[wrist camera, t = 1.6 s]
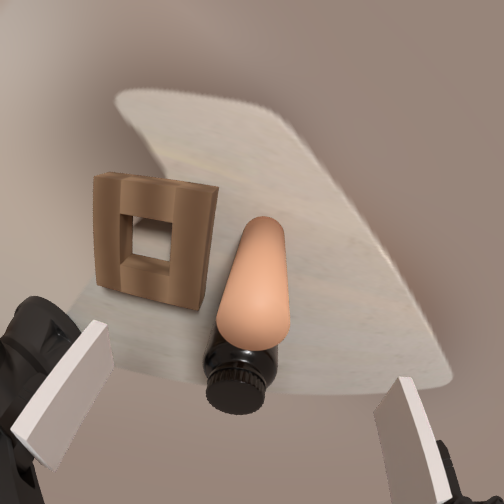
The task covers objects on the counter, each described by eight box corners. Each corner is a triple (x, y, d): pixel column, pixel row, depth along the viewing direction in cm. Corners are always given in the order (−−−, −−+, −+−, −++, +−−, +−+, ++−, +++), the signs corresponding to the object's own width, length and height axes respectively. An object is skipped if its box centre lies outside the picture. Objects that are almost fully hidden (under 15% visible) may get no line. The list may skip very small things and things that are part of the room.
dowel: (240, 251, 29) (212, 343, 16) (246, 212, 27) (220, 285, 15) (279, 258, 29) (280, 355, 16) (288, 220, 27) (298, 299, 15)
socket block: (109, 273, 31) (96, 284, 29) (109, 171, 27) (93, 176, 24) (204, 295, 31) (198, 310, 29) (218, 187, 27) (212, 193, 24)
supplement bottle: (289, 326, 32) (292, 410, 21) (239, 347, 34) (225, 428, 23) (257, 280, 30) (247, 361, 19) (205, 306, 32) (176, 385, 21)
